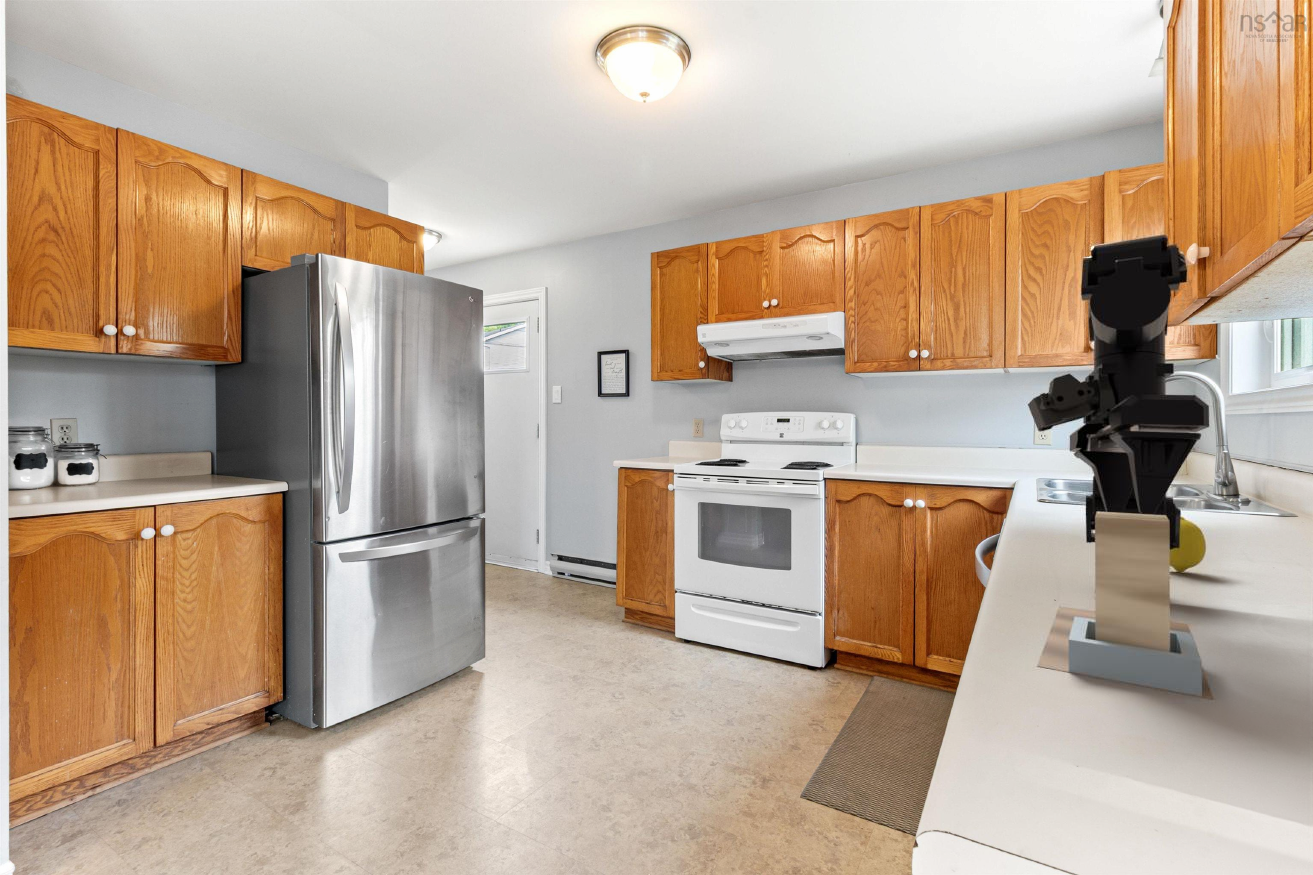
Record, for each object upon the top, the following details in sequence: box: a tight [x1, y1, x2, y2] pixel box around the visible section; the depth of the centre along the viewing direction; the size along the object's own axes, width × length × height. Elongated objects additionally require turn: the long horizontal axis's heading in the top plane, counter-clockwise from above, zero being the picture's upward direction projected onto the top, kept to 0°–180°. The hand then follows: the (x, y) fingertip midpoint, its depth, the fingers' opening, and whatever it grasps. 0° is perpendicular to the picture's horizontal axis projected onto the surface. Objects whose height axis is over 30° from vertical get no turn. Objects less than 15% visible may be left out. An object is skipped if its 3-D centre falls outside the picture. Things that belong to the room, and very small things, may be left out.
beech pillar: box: [1094, 512, 1171, 652], centre depth 49 cm, size 4×4×12 cm
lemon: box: [1170, 516, 1207, 573], centre depth 88 cm, size 6×6×8 cm
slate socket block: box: [1069, 617, 1203, 698], centre depth 49 cm, size 8×8×2 cm
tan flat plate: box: [1037, 605, 1214, 701], centre depth 55 cm, size 22×10×1 cm, turn 143°
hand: (1129, 515), depth 60 cm, fingers open, 9 cm apart
